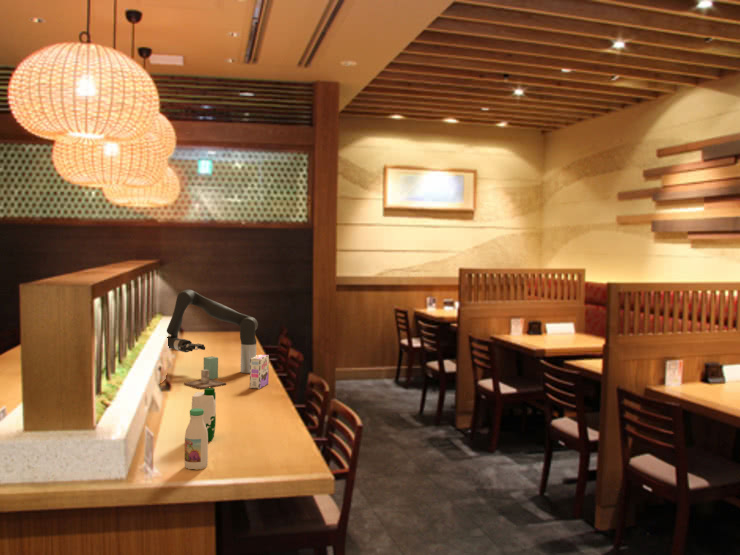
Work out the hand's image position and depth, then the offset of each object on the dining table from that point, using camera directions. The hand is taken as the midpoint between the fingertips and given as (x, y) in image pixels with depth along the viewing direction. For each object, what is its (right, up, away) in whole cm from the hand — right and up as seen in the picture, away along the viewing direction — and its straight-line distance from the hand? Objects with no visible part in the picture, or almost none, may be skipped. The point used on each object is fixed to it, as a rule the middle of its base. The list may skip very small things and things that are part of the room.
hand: (198, 348), depth 370 cm
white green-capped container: (+35, -22, -121) cm, 128 cm away
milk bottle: (+41, -24, -152) cm, 159 cm away
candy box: (+40, -18, -25) cm, 50 cm away
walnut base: (+10, -17, -24) cm, 31 cm away
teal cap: (+9, -16, -7) cm, 20 cm away
